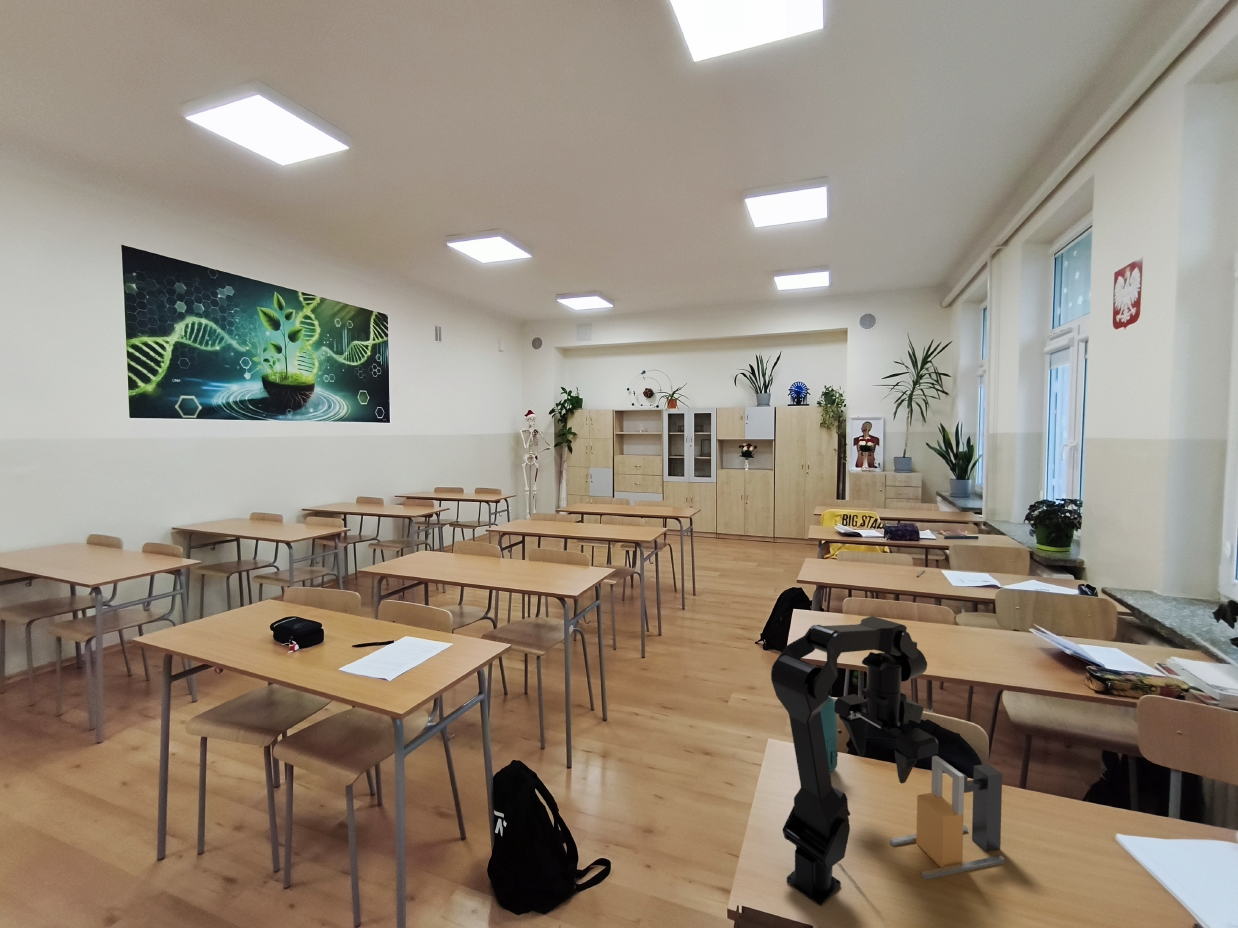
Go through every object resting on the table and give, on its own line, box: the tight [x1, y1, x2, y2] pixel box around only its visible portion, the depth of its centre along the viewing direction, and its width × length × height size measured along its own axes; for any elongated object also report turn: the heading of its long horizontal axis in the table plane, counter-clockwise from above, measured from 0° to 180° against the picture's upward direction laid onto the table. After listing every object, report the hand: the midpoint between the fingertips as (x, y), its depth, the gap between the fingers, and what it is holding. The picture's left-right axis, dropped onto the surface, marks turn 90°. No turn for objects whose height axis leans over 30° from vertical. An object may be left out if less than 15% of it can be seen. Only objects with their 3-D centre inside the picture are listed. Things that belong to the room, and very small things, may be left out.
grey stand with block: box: [889, 763, 1006, 880], centre depth 96 cm, size 18×10×15 cm, turn 102°
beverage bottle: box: [821, 685, 839, 772], centre depth 122 cm, size 6×7×20 cm
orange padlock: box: [915, 755, 965, 868], centre depth 96 cm, size 4×6×16 cm, turn 12°
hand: (881, 768), depth 102 cm, fingers open, 9 cm apart
